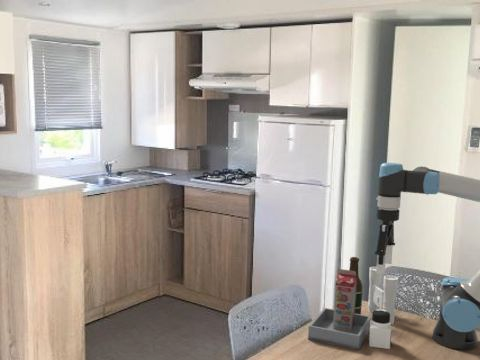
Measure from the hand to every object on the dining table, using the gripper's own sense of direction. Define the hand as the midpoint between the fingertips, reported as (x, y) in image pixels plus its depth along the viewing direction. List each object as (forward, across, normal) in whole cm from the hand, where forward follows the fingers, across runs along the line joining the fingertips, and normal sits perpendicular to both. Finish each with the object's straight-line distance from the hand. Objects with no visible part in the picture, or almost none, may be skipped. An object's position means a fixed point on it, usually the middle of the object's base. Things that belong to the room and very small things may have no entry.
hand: (384, 268), depth 190 cm
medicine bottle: (+28, 0, 0) cm, 28 cm away
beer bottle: (+28, -21, -15) cm, 38 cm away
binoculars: (+28, -27, -4) cm, 39 cm away
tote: (+28, -2, -14) cm, 31 cm away
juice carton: (+27, -6, -14) cm, 31 cm away
